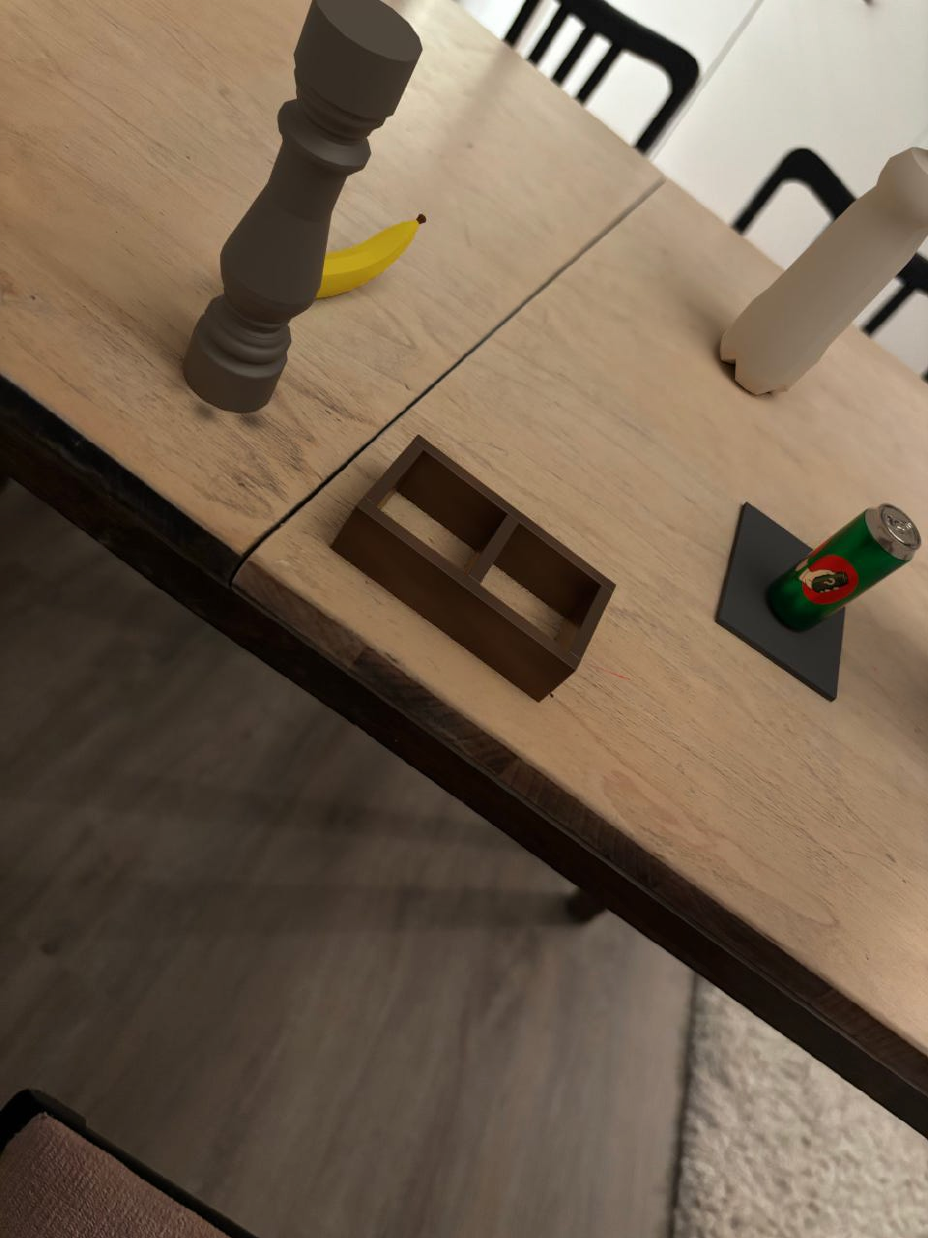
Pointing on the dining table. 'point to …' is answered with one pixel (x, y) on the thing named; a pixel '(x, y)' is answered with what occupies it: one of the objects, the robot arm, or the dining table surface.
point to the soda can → (844, 567)
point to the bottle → (831, 280)
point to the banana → (366, 258)
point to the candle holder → (299, 197)
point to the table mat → (750, 617)
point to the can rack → (477, 569)
